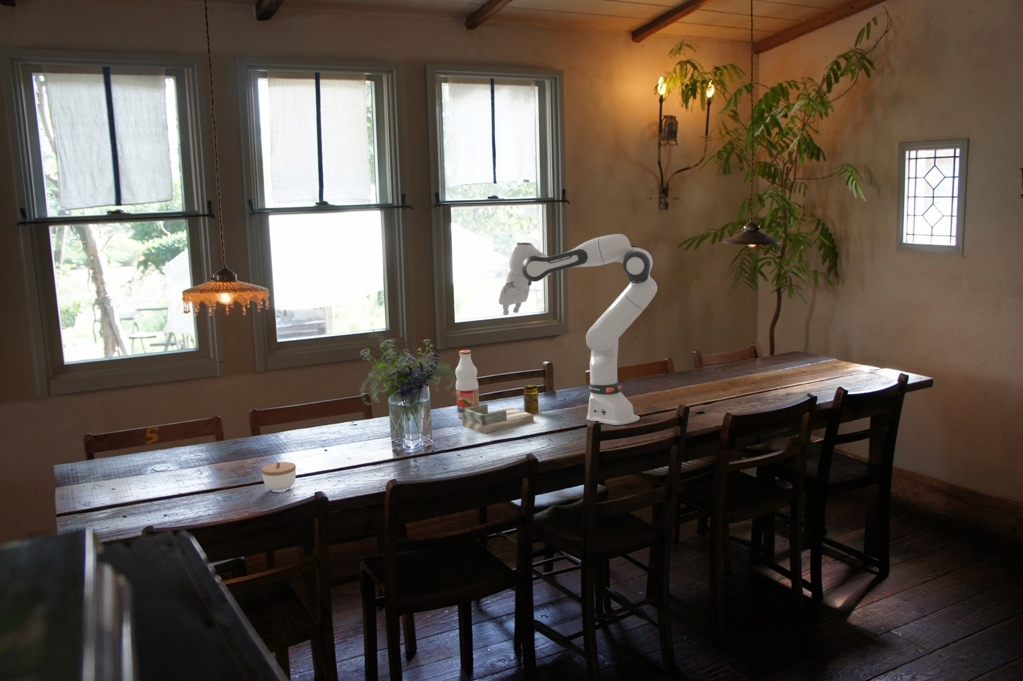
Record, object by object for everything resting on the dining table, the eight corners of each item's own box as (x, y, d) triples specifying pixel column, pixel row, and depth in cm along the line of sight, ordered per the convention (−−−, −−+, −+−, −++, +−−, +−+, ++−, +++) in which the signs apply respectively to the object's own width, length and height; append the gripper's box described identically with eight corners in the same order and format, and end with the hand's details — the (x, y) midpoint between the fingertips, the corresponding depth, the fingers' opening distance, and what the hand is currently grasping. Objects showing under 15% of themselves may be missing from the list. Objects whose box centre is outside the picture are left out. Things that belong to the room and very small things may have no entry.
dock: (533, 421, 346) (533, 404, 345) (484, 433, 333) (483, 416, 331) (510, 414, 359) (510, 398, 358) (462, 425, 346) (461, 408, 344)
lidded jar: (275, 483, 285) (272, 456, 283) (303, 485, 282) (301, 457, 280) (257, 494, 275) (254, 466, 273) (286, 496, 272) (283, 468, 270)
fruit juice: (484, 416, 359) (480, 350, 354) (464, 420, 354) (460, 354, 349) (472, 412, 366) (469, 348, 362) (453, 415, 361) (449, 351, 357)
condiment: (542, 413, 359) (541, 385, 357) (526, 416, 355) (525, 388, 353) (533, 410, 365) (531, 382, 363) (516, 413, 361) (515, 385, 359)
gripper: (512, 284, 338) (506, 318, 342) (533, 281, 357) (527, 313, 360) (498, 281, 341) (492, 314, 344) (520, 277, 359) (514, 309, 362)
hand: (510, 313), depth 352 cm, fingers open, 8 cm apart
